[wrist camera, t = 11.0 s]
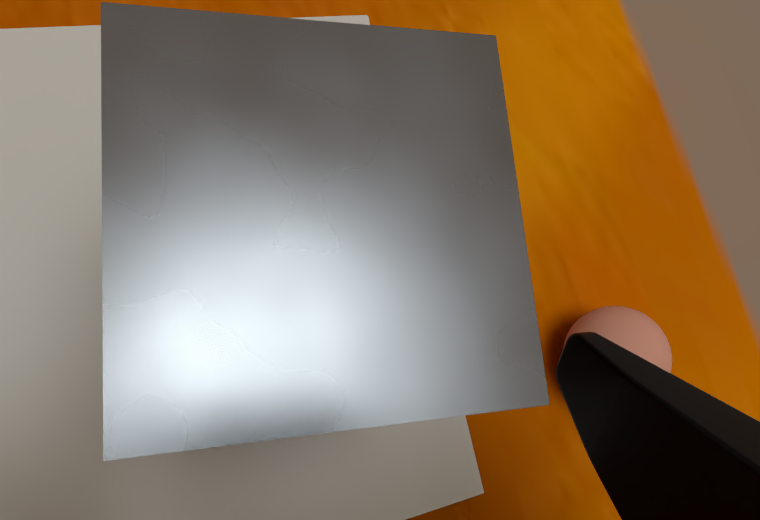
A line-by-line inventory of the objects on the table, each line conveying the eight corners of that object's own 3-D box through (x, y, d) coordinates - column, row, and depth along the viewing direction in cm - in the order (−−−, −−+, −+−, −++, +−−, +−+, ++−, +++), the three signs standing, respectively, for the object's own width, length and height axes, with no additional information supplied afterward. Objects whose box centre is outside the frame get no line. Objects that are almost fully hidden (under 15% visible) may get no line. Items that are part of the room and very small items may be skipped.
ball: (558, 417, 19) (623, 422, 16) (533, 322, 20) (591, 310, 17) (635, 394, 20) (710, 395, 17) (609, 304, 21) (677, 290, 18)
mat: (-53, 668, 13) (-60, 676, 13) (-120, 42, 16) (-127, 33, 15) (478, 491, 18) (484, 493, 17) (364, 21, 20) (367, 15, 20)
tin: (362, 394, 17) (549, 404, 8) (167, 416, 15) (103, 461, 6) (346, 218, 18) (495, 36, 9) (161, 221, 16) (101, 2, 7)
